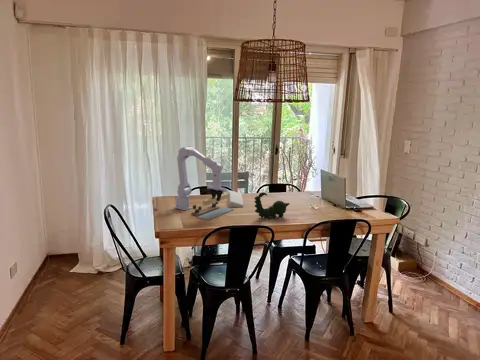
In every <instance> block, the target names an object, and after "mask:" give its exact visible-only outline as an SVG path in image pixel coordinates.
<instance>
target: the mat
mask: <svg viewBox="0 0 480 360" xmlns="http://www.w3.org/2000/svg"><path fill="white" fill-rule="evenodd" d="M234 210H235V209H234V208H232V207H225V206H221V207H219V209H216V210H213V211H211V212H208V213H205V214H203V215H200V216H196V219H200V220H205V221H211V220H212V219H215V218H218V217H220V216H222V215H225V214H228V213H231V212H232V211H234Z"/></svg>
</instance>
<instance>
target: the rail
mask: <svg viewBox="0 0 480 360" xmlns="http://www.w3.org/2000/svg"><path fill="white" fill-rule="evenodd" d="M226 199H229V193H228V192H223V193H222V195H221V198H220V201H217V195H216V196H215V197H212V196H211V197H209V198H207V199H203V200H202V206H205V207H208V206H211V205H212V204H213V203H216V202H218V203H219V202H221V201H224V200H226Z"/></svg>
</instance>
